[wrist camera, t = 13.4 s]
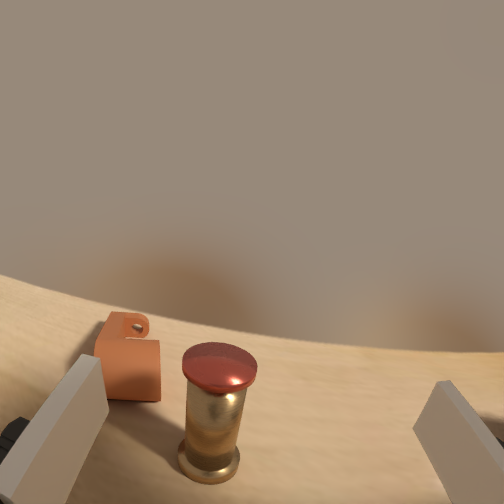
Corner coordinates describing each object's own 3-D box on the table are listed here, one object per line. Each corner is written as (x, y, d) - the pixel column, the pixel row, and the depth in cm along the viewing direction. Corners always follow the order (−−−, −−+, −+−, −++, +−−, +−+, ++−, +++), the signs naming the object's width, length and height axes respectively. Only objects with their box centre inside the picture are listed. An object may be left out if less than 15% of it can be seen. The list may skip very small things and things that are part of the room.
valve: (238, 444, 31) (258, 346, 27) (237, 487, 24) (261, 391, 21) (182, 437, 30) (187, 336, 27) (173, 479, 24) (173, 379, 21)
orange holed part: (161, 413, 34) (160, 364, 32) (99, 410, 31) (90, 359, 29) (156, 334, 52) (157, 293, 50) (112, 331, 49) (111, 289, 48)
